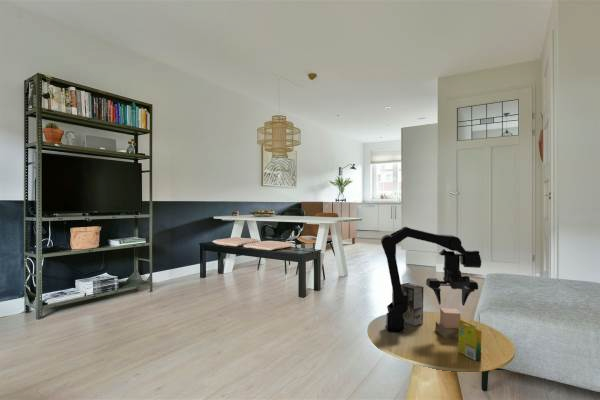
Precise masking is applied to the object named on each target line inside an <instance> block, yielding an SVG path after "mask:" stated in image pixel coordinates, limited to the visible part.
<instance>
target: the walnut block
mask: <svg viewBox="0 0 600 400" xmlns="http://www.w3.org/2000/svg"><path fill="white" fill-rule="evenodd" d="M434 325H435V327H434V328H435V329H434V330H435V332H437V333H438V334H439V335H440V337H442V338H444V340H459V329H456V328H444V327H443V325H442V324H441V323H440V321H435V324H434Z"/></svg>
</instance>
